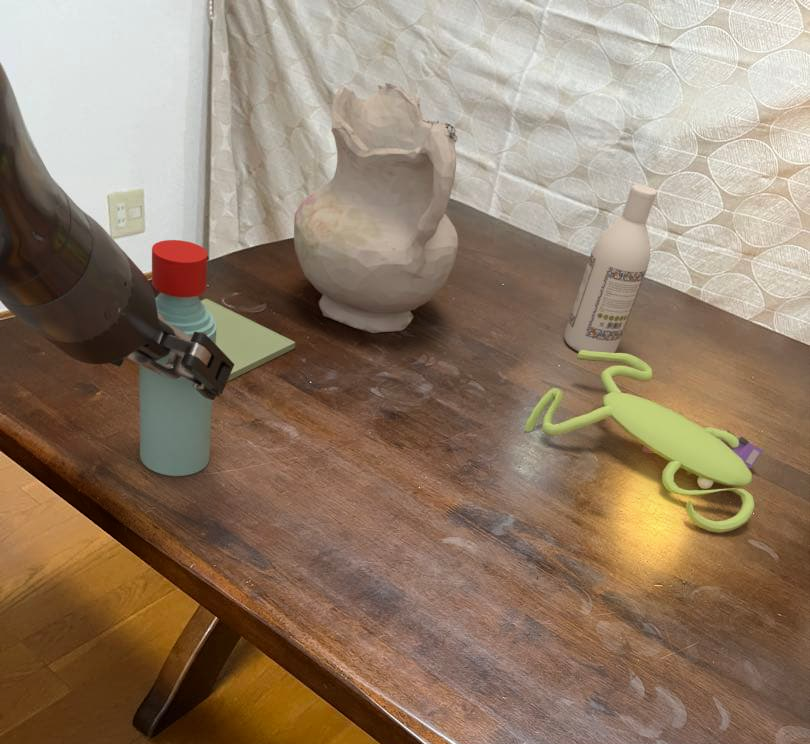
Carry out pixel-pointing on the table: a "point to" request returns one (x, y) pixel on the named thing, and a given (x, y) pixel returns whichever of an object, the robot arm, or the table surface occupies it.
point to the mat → (245, 340)
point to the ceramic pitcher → (380, 212)
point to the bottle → (176, 401)
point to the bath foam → (612, 278)
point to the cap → (179, 268)
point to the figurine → (665, 438)
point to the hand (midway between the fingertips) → (167, 371)
